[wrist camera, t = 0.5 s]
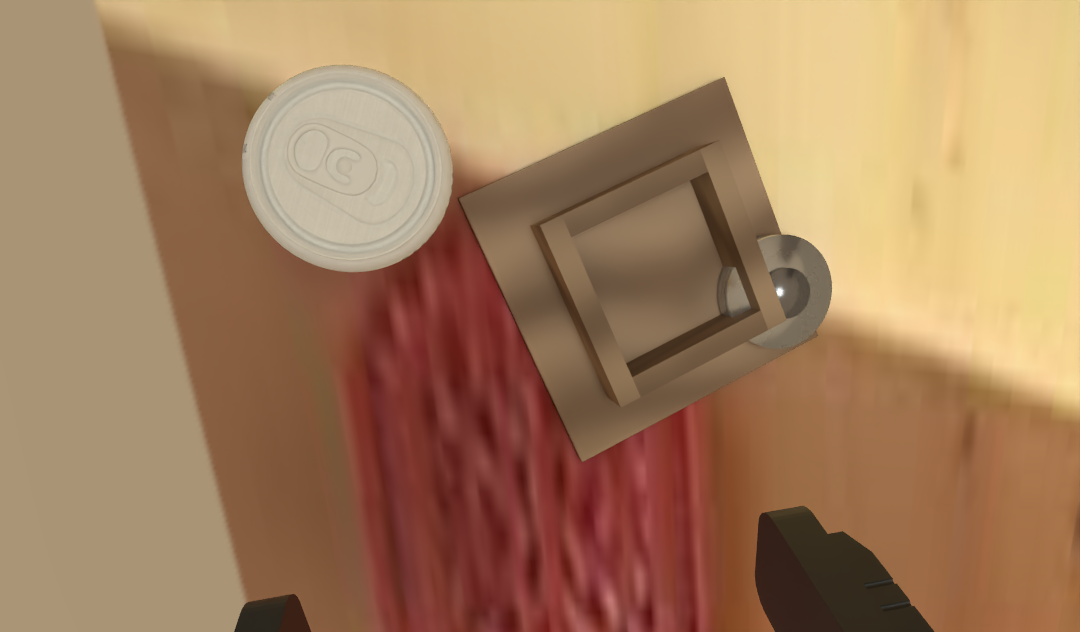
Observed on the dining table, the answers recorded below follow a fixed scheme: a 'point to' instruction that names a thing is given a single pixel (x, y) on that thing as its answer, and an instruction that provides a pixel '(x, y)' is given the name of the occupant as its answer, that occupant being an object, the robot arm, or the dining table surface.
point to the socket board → (635, 265)
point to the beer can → (347, 168)
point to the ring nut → (784, 289)
